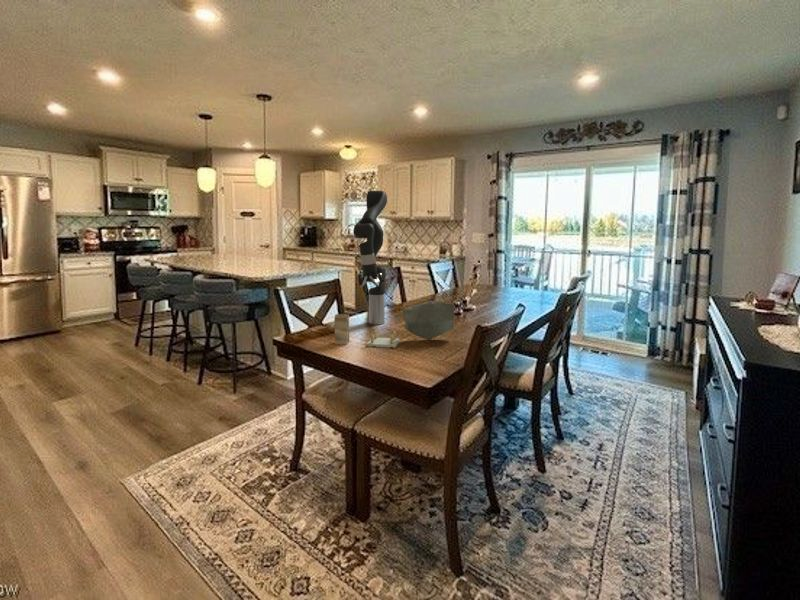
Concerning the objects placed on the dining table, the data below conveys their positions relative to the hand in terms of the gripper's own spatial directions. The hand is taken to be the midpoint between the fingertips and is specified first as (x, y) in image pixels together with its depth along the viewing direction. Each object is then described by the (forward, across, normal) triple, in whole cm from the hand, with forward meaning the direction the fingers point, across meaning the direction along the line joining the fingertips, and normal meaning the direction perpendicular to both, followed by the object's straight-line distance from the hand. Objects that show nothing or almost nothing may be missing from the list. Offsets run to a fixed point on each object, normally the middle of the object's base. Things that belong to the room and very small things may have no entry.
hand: (372, 292), depth 229 cm
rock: (+24, -30, +1) cm, 38 cm away
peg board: (+20, -14, +18) cm, 31 cm away
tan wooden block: (+18, +4, +27) cm, 33 cm away
